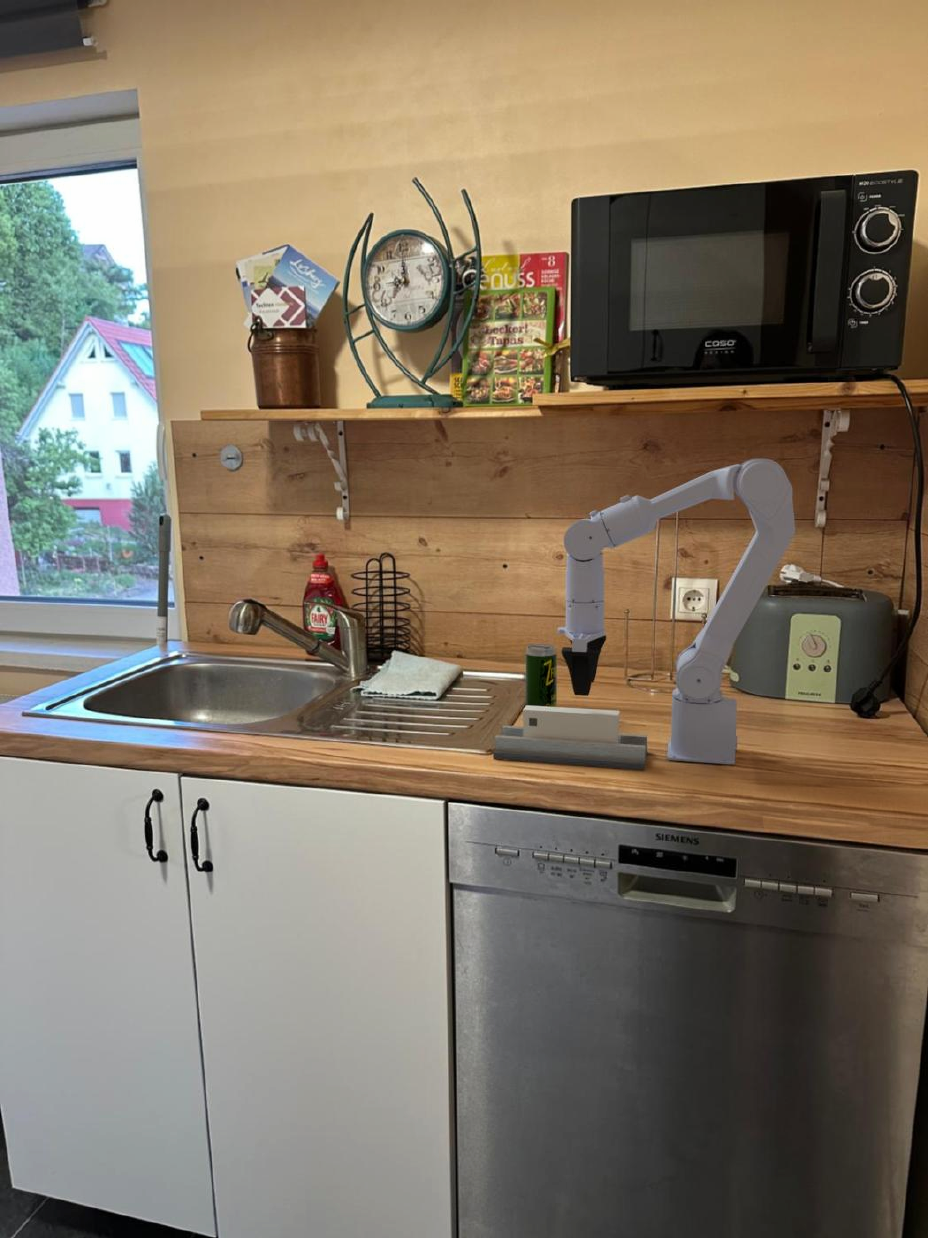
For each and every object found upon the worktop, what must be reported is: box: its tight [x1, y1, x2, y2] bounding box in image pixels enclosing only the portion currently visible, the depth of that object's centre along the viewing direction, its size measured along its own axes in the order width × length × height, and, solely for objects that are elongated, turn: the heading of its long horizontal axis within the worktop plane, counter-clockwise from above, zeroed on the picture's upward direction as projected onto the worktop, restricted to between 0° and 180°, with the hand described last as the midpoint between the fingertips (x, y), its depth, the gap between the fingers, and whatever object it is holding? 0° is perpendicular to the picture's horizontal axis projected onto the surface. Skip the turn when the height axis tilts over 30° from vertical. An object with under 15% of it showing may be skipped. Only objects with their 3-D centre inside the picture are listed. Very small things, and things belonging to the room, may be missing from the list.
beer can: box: [525, 643, 558, 707], centre depth 144 cm, size 5×5×12 cm
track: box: [492, 724, 648, 771], centre depth 125 cm, size 22×8×3 cm, turn 75°
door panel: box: [522, 704, 621, 744], centre depth 124 cm, size 14×2×6 cm, turn 75°
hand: (584, 688), depth 127 cm, fingers open, 7 cm apart
